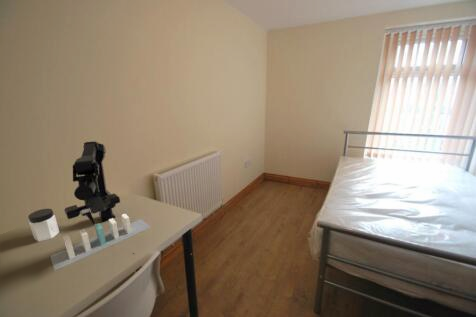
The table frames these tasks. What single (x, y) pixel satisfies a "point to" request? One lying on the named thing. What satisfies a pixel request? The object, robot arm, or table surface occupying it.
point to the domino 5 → (126, 223)
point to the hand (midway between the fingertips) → (97, 222)
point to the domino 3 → (100, 234)
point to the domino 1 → (69, 246)
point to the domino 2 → (85, 240)
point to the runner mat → (96, 245)
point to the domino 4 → (113, 228)
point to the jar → (43, 224)
